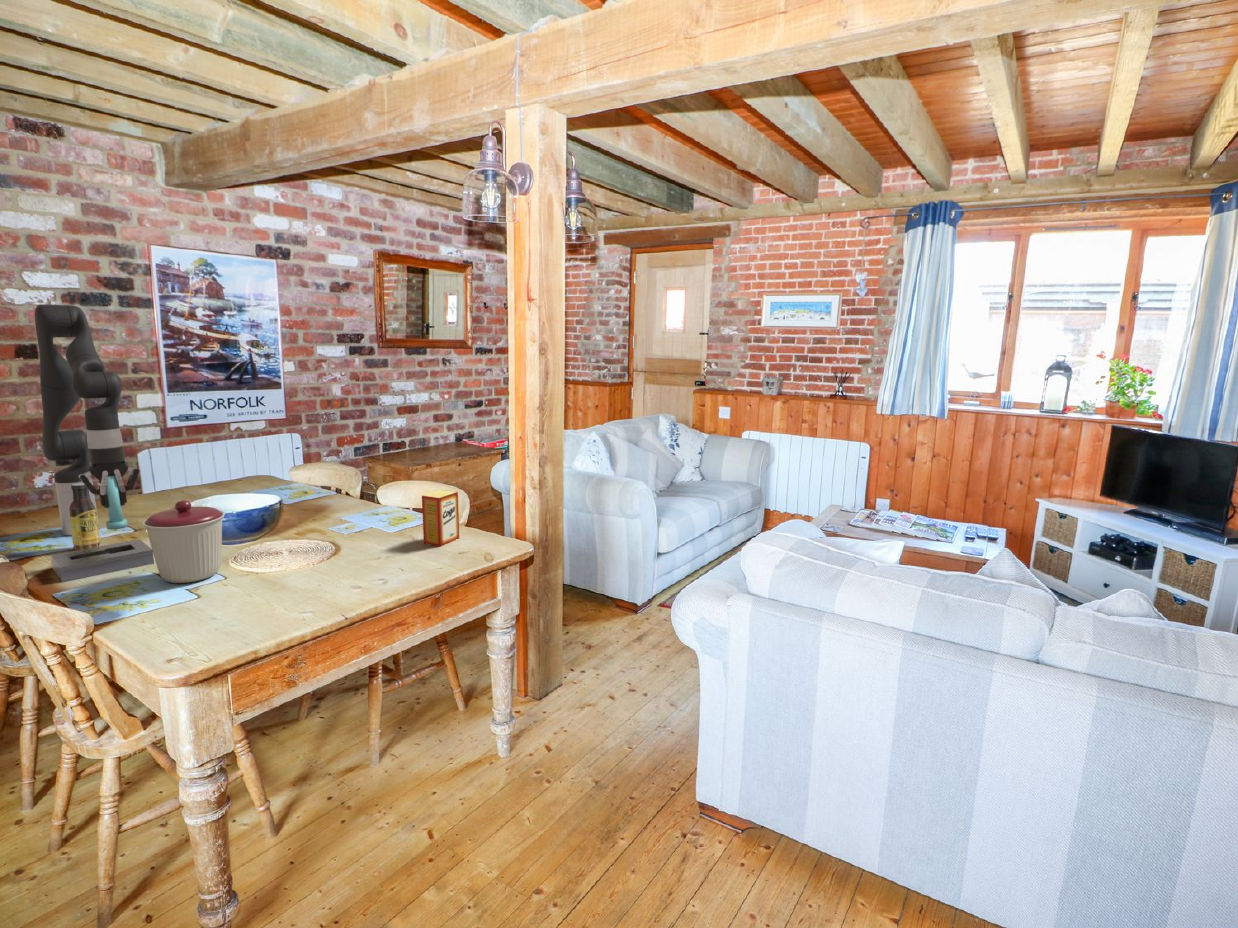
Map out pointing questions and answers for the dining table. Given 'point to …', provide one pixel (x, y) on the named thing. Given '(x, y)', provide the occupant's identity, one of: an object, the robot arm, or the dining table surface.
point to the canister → (186, 542)
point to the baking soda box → (440, 517)
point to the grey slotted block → (101, 560)
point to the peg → (114, 505)
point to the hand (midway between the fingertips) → (114, 506)
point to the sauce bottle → (83, 519)
